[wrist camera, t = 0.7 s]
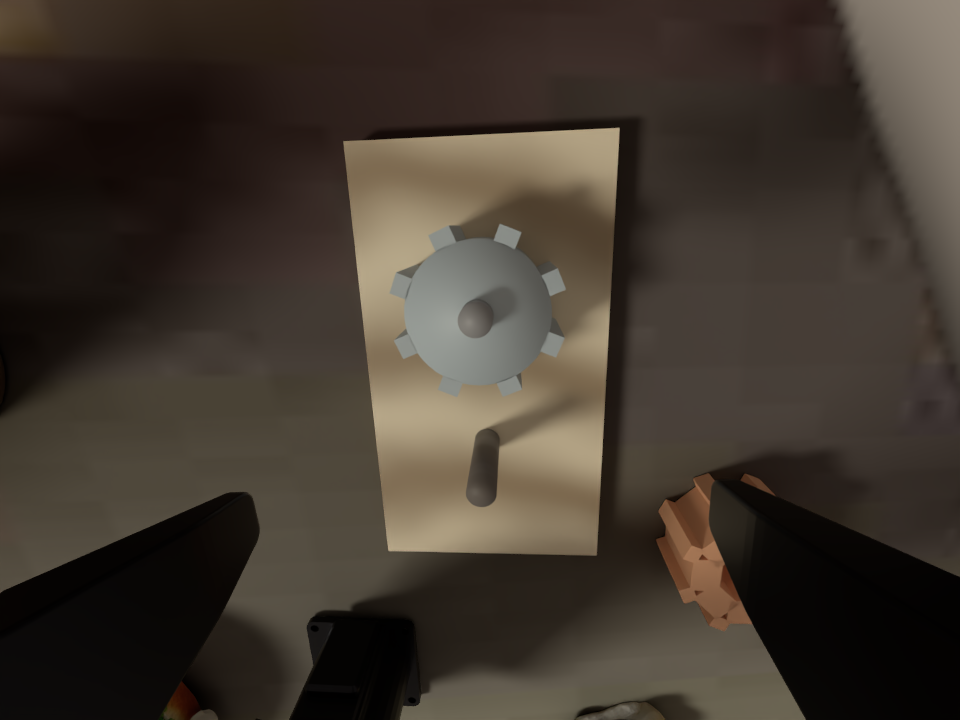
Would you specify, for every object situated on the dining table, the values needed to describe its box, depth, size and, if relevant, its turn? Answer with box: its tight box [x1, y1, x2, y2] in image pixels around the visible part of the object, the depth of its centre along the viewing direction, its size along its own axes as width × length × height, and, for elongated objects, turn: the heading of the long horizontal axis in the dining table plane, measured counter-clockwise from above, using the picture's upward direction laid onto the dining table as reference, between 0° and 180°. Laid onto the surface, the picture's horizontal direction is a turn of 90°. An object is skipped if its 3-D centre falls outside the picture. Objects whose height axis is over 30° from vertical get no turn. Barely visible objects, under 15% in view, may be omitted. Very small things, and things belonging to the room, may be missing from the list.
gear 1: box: [390, 224, 566, 397], centre depth 17 cm, size 6×6×4 cm
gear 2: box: [656, 473, 776, 631], centre depth 22 cm, size 6×6×4 cm
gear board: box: [343, 128, 620, 556], centre depth 19 cm, size 20×11×6 cm, turn 2°
